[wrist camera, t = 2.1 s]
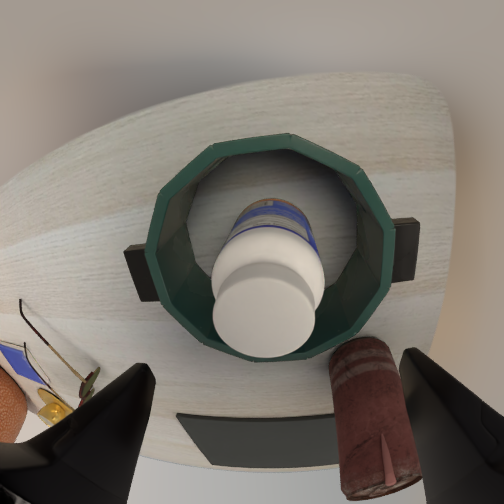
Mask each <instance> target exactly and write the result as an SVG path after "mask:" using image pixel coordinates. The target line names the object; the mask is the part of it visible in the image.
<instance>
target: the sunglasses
mask: <svg viewBox="0 0 504 504" xmlns="http://www.w3.org/2000/svg"><path fill="white" fill-rule="evenodd" d="M19 307H20V313H21V316H22V317H23V319H24V320H25V321H26V323H27V324H28V325H29V326H30V327H31V328H32V330H33V331H34V332H35V333H36V334H37V335H38V336H39V337H40V338H41V339H42V340H43V341H44V343H45V344H46V345H47V346H48V347H49V348H50V349H51V350H52V351H53V352H54V353H55V354H56V355H57V356H58V357H59V358H60V359H61V360H62V361H63V362H64V363H65V364H66V365H67V366H68V367H69V369H70V370H71V371H72V372H73V373H74V374H75V375H76V376H77V377H78V378H79V379H80V380H81V381H83V382H82V383H81V386H80V391H79V397H80V398H81V402H80V404H79V406H81V405H82V404H83V403H85V402H86V401H87V400H89V399H90V398H91V397H92V395H93V393H94V389H92V390H91V391H90V389H91V388H92V386H93V383H94V382H95V380H96V378H97V376H98V374H99V372H100V367H98V368H97V369H96V370H95V371H94V372H91V373H90V374H89V375H88V376H87V377H86V378H85V379H84V378H83V377H82V376H81V375H80V374H79V373H78V372H77V371H76V370H74V369H73V368H72V367H71V366H70V365H69V364H68V363H67V362H66V361H65V360H64V359H63V358H62V357H61V356H60V355H59V354H58V353H57V352H56V350H55V349H54V348H53V347H52V346H51V345H50V344H49V343H48V342H47V341H46V340H45V339H44V338H43V337H42V336H41V335H40V333H39V332H38V331H37V330H36V329H35V328H34V327H33V326H32V325H31V323H30V322H29V321H28V320H27V319H26V318H25V316H24V315H23V312H22V299H19ZM24 349H25V356H26V359H27V361H28V363H29V365H30V366H31V367H32V369H33V370H34V371H35V373H36V374H37V375H38V376H39V377H40V378H41V380H42V381H43V382H44V383H45V384H46V385H47V386H48V387H49V388H50V389H51V390H52V391H53V392H54V393H55V394H56V395H57V396H58V397H59V398H60V399H61V400H62V401H63V402H64V403H65V404H66V405H67V406H68V407H69V408H70V409H71V410H72V411H74V410H75V409H73V408H72V407H71V406H70V405H68V404H67V403H66V402H65V401H64V400H63V399H62V398H61V397H60V396H59V395H58V394H57V393H56V392H55V391H54V390H53V389H52V388H51V387H50V386H49V385H48V384H47V382H46V381H45V380H44V379H43V378H42V377H41V376H40V375H39V373H38V372H37V371H36V370H35V369H34V367H33V366H32V365H31V363H30V361H29V359H28V357H27V351H26V343H25V342H24ZM79 406H78V407H79Z"/></svg>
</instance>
